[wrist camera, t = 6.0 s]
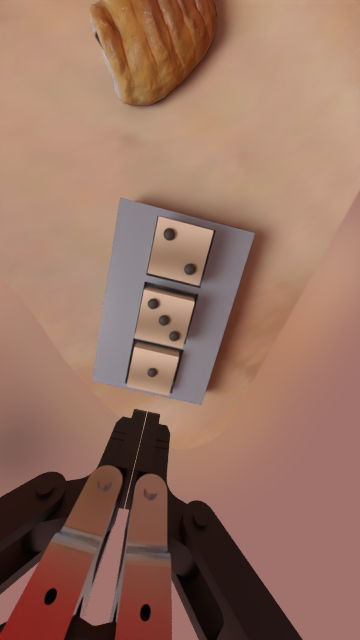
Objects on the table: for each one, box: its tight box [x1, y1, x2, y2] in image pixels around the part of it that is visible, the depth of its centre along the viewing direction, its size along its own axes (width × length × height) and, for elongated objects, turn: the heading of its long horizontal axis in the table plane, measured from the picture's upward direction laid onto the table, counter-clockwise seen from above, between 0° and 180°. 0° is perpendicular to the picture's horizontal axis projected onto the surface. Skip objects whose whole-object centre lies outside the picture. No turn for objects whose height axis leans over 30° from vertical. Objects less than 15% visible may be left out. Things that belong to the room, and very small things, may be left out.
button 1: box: [127, 340, 179, 396], centre depth 22 cm, size 4×4×3 cm
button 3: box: [135, 286, 195, 349], centre depth 20 cm, size 4×4×3 cm
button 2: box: [147, 216, 213, 286], centre depth 18 cm, size 4×4×3 cm
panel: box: [92, 198, 255, 405], centre depth 22 cm, size 18×12×2 cm, turn 166°
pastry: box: [89, 0, 217, 105], centre depth 16 cm, size 9×7×4 cm
